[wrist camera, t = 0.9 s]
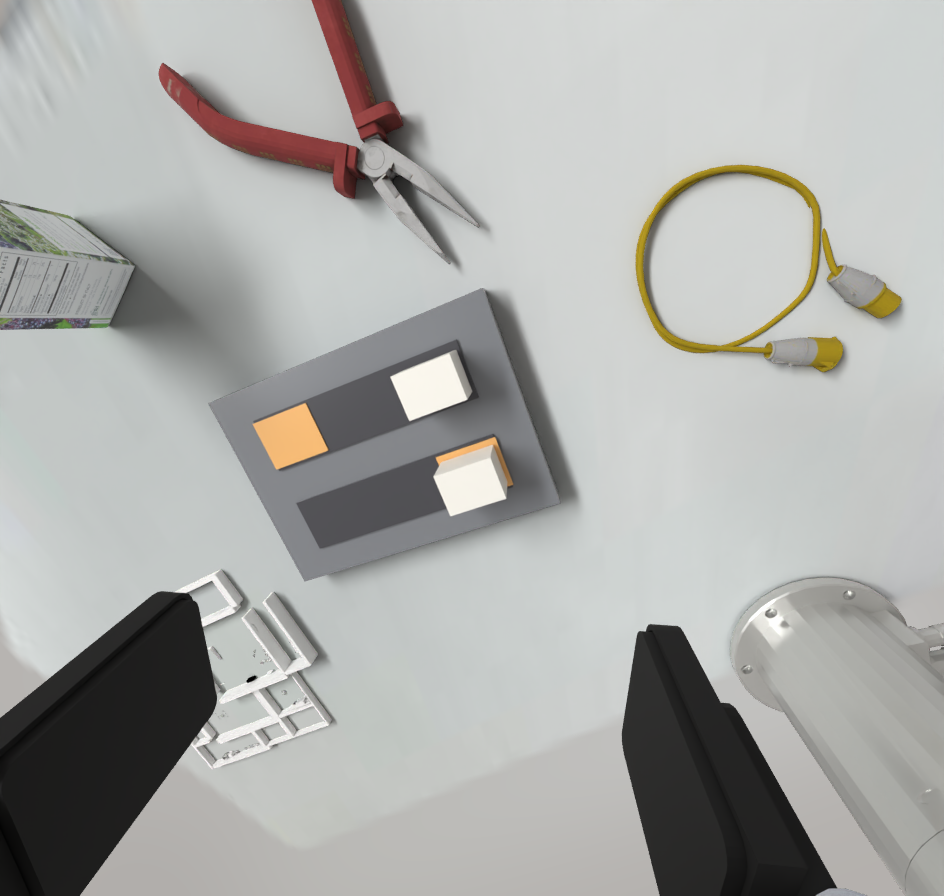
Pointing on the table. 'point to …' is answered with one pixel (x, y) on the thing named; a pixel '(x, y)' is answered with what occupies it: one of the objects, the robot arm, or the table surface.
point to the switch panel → (383, 441)
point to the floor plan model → (257, 685)
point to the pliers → (325, 154)
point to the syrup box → (56, 272)
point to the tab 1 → (432, 385)
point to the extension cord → (799, 351)
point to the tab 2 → (471, 480)
